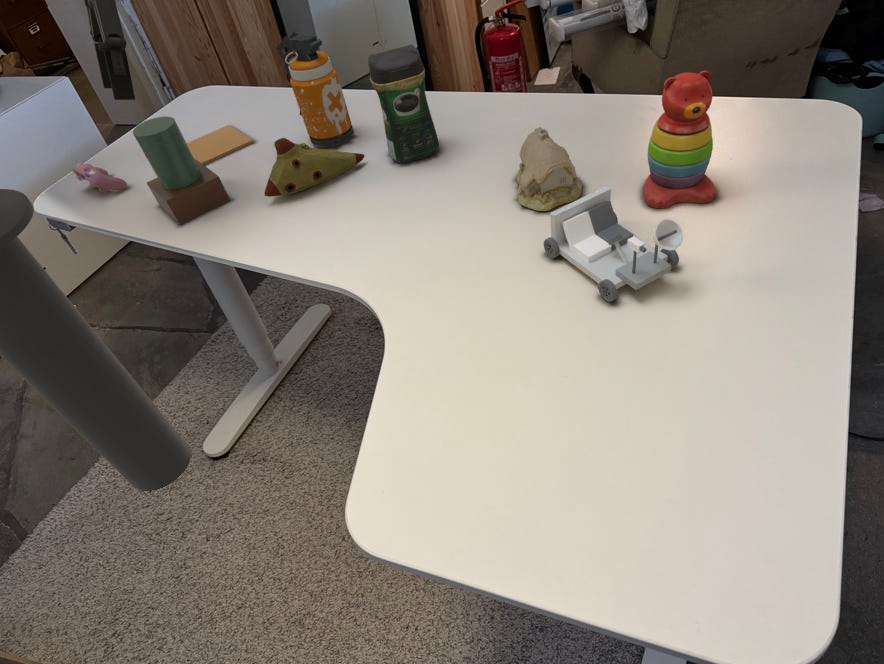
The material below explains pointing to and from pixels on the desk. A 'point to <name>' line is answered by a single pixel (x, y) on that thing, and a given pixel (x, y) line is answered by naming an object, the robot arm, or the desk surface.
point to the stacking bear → (681, 144)
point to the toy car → (610, 245)
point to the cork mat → (218, 144)
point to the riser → (191, 196)
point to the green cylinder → (167, 152)
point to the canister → (316, 90)
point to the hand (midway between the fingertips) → (118, 93)
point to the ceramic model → (546, 173)
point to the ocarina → (305, 167)
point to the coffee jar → (403, 103)
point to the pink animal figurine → (98, 177)
